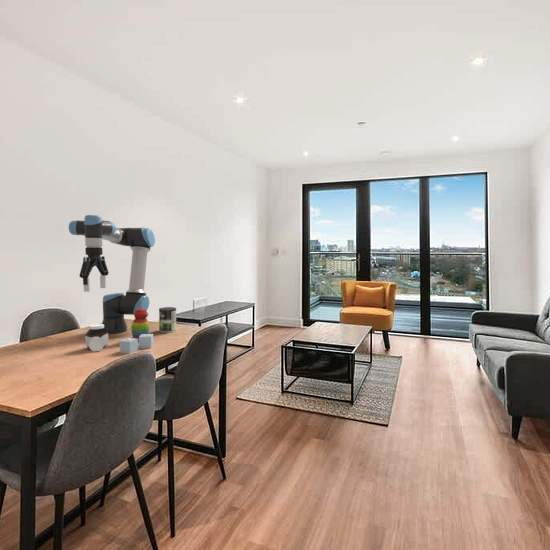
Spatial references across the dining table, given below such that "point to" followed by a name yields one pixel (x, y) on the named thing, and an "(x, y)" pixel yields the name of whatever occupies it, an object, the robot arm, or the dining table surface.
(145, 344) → the pip block two
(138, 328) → the stacking bear
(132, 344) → the pip block three
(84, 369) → the dining table surface
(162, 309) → the coffee can
